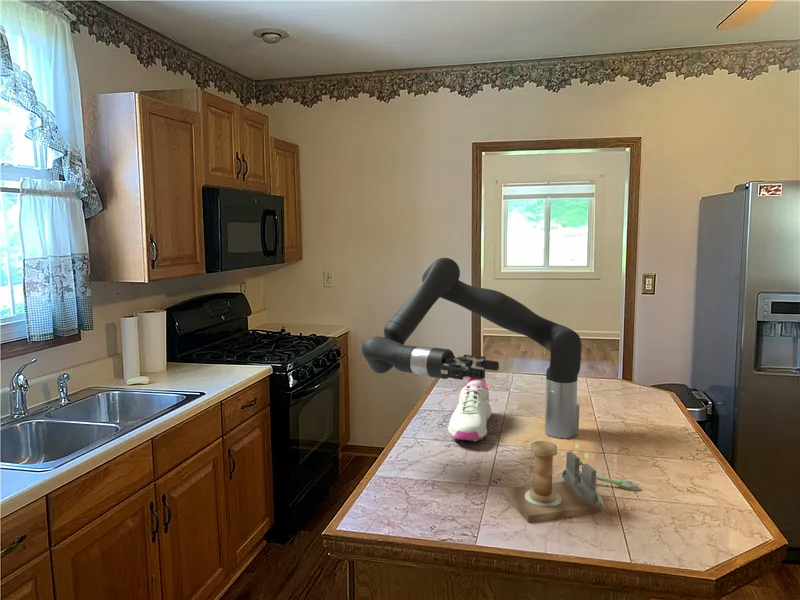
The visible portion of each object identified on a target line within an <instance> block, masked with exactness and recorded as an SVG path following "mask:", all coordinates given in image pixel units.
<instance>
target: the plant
mask: <svg viewBox="0 0 800 600" xmlns="http://www.w3.org/2000/svg"><path fill="white" fill-rule="evenodd" d="M582 464H584V463H583V461H580V466H582ZM561 478H563V480H564V481H566V468H565V469H563V471H562V474H561ZM581 480H582V471H581V470H580V469H579V482H580V483H581ZM596 481H602V482H607V483H610V484H612V485H613V484H614V485H616V486H619V488H621V489H623V490H627V491H636V490H640V491H642V490H643V489H642V488H641V487H640V486H638V485H637V483H635V482H634V481H632V480H628V479H627V480H626V479H612V478H609V477H606V476H605V477H604V476H598V475H596ZM595 501H596V502H598V503H599V504H600V505H601V507H604V506H605V502H604V499H603V497H602V496H600V494H599V493H598V491H597V490H596V494H595Z"/></svg>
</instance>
